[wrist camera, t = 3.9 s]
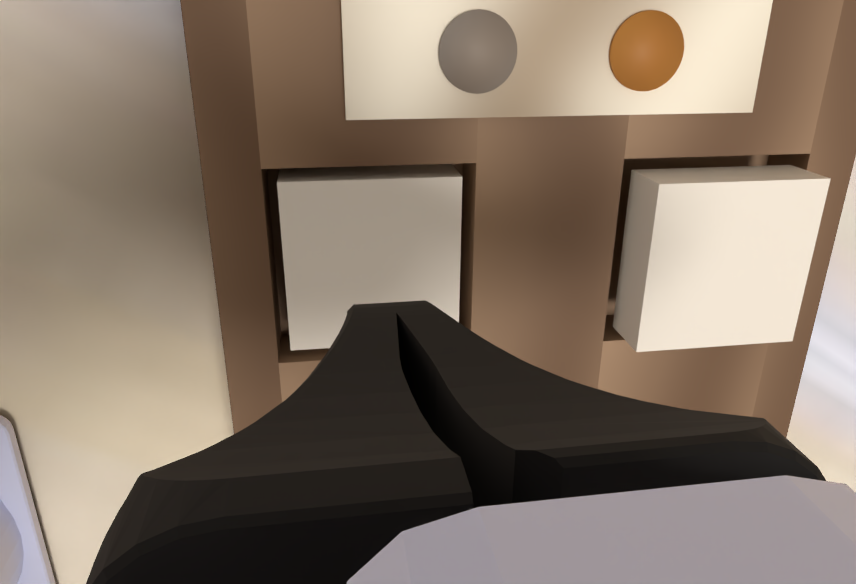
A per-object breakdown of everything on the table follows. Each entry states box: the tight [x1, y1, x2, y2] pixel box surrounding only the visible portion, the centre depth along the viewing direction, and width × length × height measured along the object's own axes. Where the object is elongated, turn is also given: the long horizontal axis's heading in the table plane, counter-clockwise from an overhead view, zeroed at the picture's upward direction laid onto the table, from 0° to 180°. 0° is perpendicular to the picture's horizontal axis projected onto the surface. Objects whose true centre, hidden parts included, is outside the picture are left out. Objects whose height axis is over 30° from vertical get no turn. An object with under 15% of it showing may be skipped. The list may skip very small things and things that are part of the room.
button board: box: [180, 0, 856, 438], centre depth 19 cm, size 15×24×4 cm, turn 0°
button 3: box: [277, 164, 462, 351], centre depth 16 cm, size 4×4×1 cm
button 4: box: [613, 165, 831, 352], centre depth 16 cm, size 4×4×1 cm
